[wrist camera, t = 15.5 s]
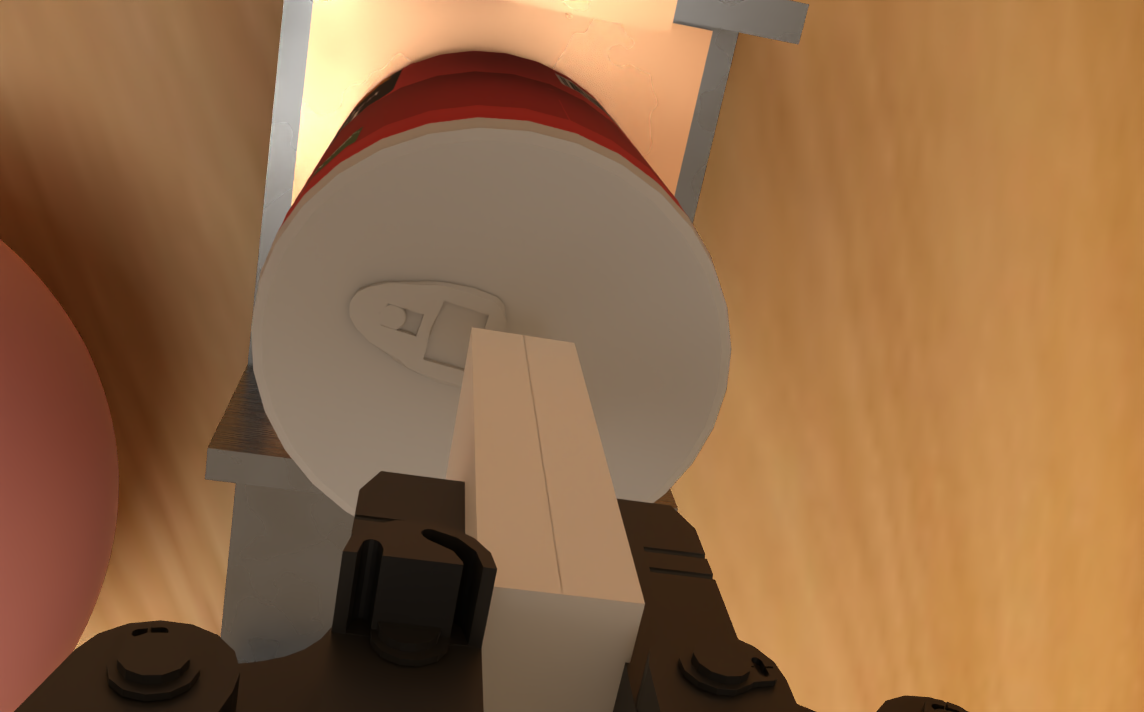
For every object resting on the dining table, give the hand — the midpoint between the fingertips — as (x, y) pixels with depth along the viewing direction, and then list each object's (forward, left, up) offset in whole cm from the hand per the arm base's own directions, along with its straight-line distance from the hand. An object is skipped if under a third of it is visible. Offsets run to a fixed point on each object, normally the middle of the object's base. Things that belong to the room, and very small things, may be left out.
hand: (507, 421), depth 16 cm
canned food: (0, 0, -13) cm, 13 cm away
